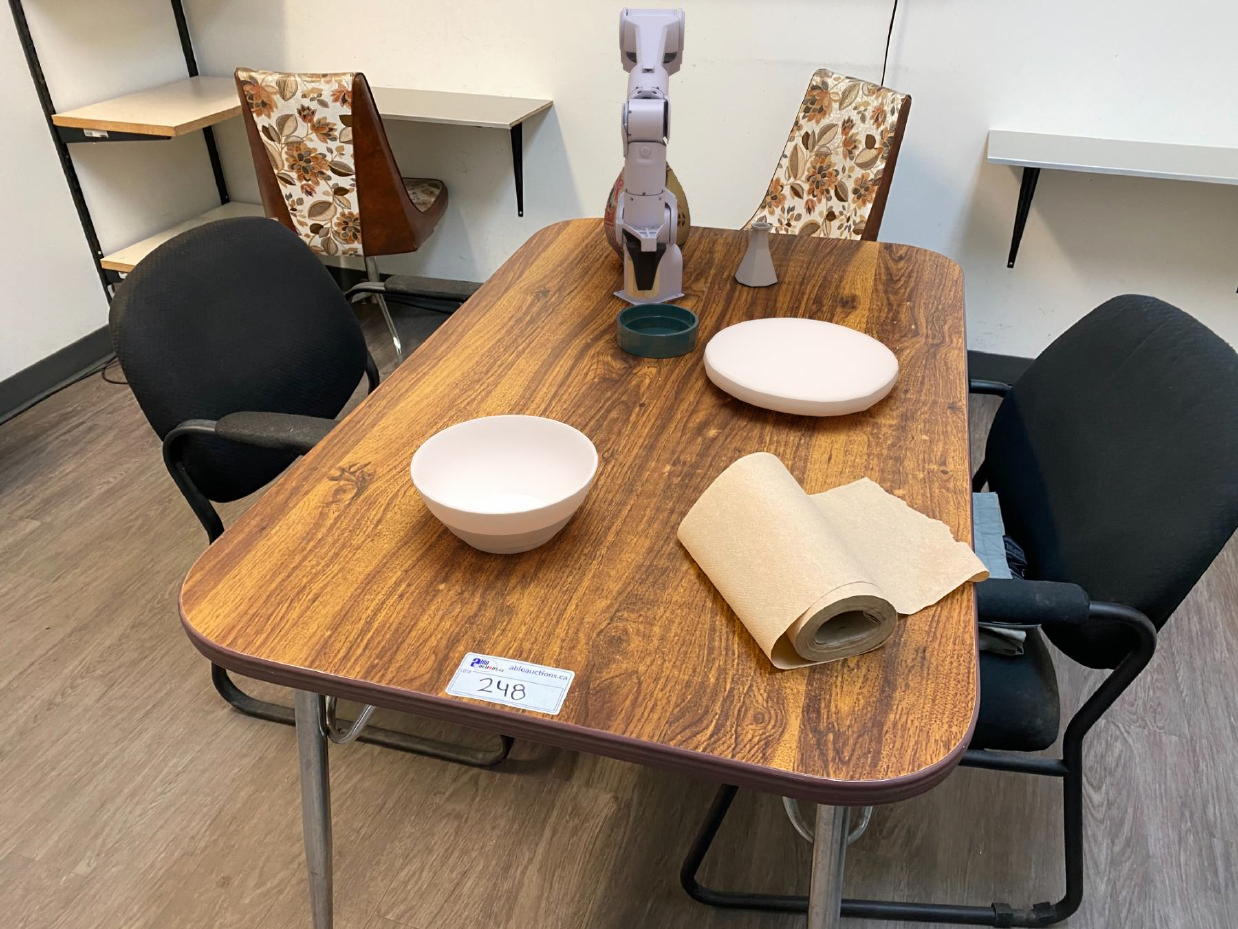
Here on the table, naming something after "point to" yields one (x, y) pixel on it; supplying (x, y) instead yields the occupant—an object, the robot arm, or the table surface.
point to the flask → (757, 259)
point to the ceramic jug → (682, 213)
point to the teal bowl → (657, 330)
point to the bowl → (505, 479)
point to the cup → (632, 286)
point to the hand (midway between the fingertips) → (642, 282)
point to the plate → (801, 366)
